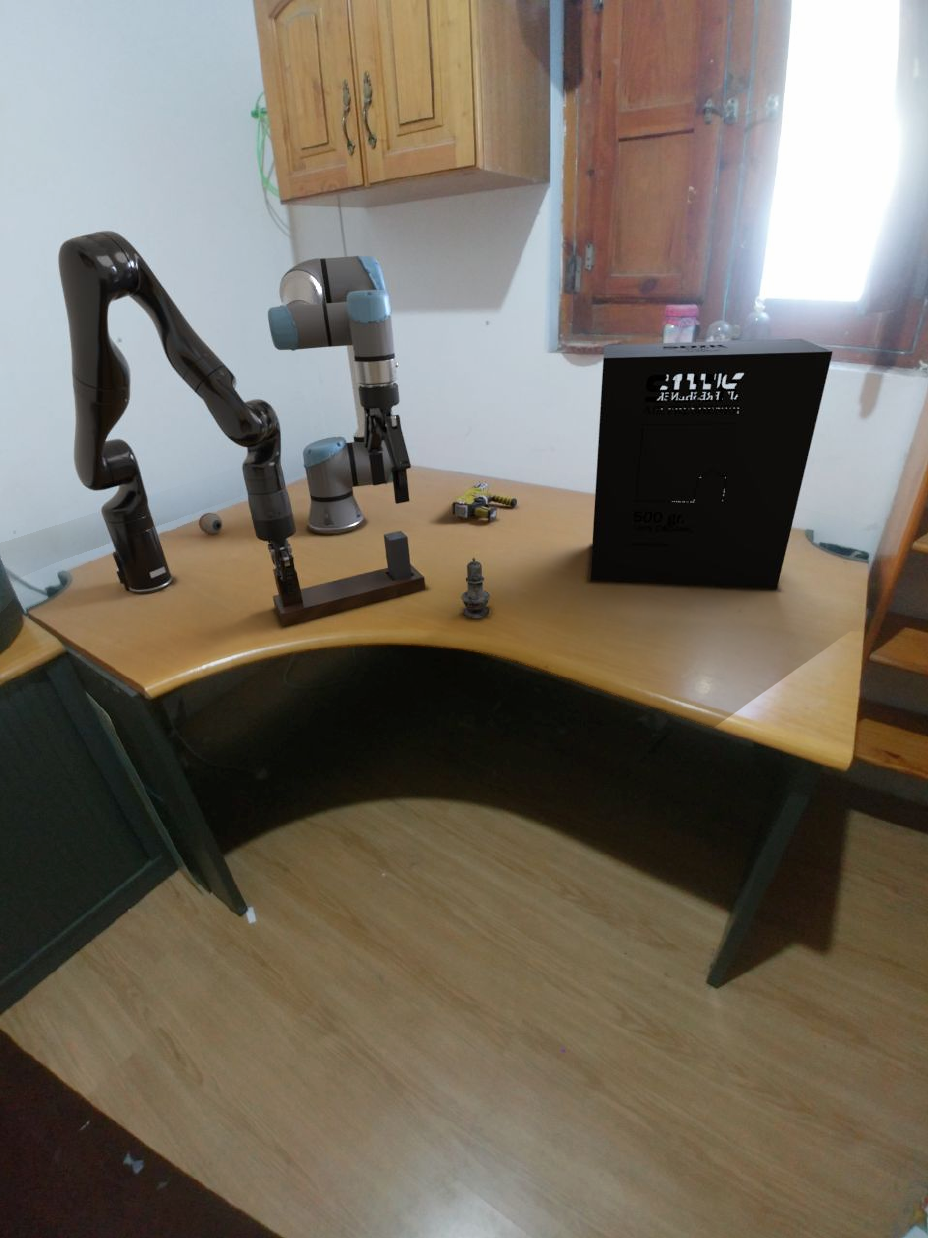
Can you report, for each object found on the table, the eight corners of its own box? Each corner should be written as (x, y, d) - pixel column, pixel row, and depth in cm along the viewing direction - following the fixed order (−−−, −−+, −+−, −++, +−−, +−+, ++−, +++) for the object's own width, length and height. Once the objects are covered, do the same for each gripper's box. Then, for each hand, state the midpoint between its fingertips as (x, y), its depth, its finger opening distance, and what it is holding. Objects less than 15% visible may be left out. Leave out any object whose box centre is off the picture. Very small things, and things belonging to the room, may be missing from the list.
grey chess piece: (488, 619, 119) (486, 564, 113) (459, 618, 120) (455, 563, 114) (493, 605, 124) (491, 551, 118) (465, 604, 125) (462, 550, 119)
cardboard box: (756, 549, 141) (800, 338, 118) (776, 589, 124) (832, 351, 101) (592, 544, 148) (604, 344, 126) (590, 580, 131) (603, 357, 109)
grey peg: (396, 591, 132) (389, 540, 126) (389, 584, 135) (383, 534, 129) (412, 586, 134) (407, 536, 128) (406, 580, 137) (400, 530, 131)
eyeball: (212, 539, 164) (206, 518, 161) (197, 535, 167) (191, 515, 164) (230, 531, 169) (224, 511, 166) (215, 528, 172) (210, 508, 169)
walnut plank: (284, 626, 121) (273, 582, 116) (275, 608, 128) (265, 565, 123) (425, 589, 132) (421, 547, 127) (410, 574, 140) (405, 533, 135)
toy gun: (525, 486, 181) (478, 479, 184) (503, 510, 160) (450, 501, 164) (523, 501, 183) (477, 494, 187) (501, 526, 163) (450, 518, 167)
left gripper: (299, 518, 110) (316, 601, 119) (283, 497, 122) (299, 574, 130) (258, 527, 108) (277, 610, 116) (245, 505, 119) (264, 582, 128)
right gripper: (422, 390, 105) (431, 506, 116) (374, 373, 124) (386, 474, 135) (381, 395, 102) (394, 514, 113) (339, 377, 122) (354, 480, 132)
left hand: (289, 591), depth 123 cm, fingers closed on walnut plank, 4 cm apart
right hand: (390, 492), depth 124 cm, fingers open, 13 cm apart
